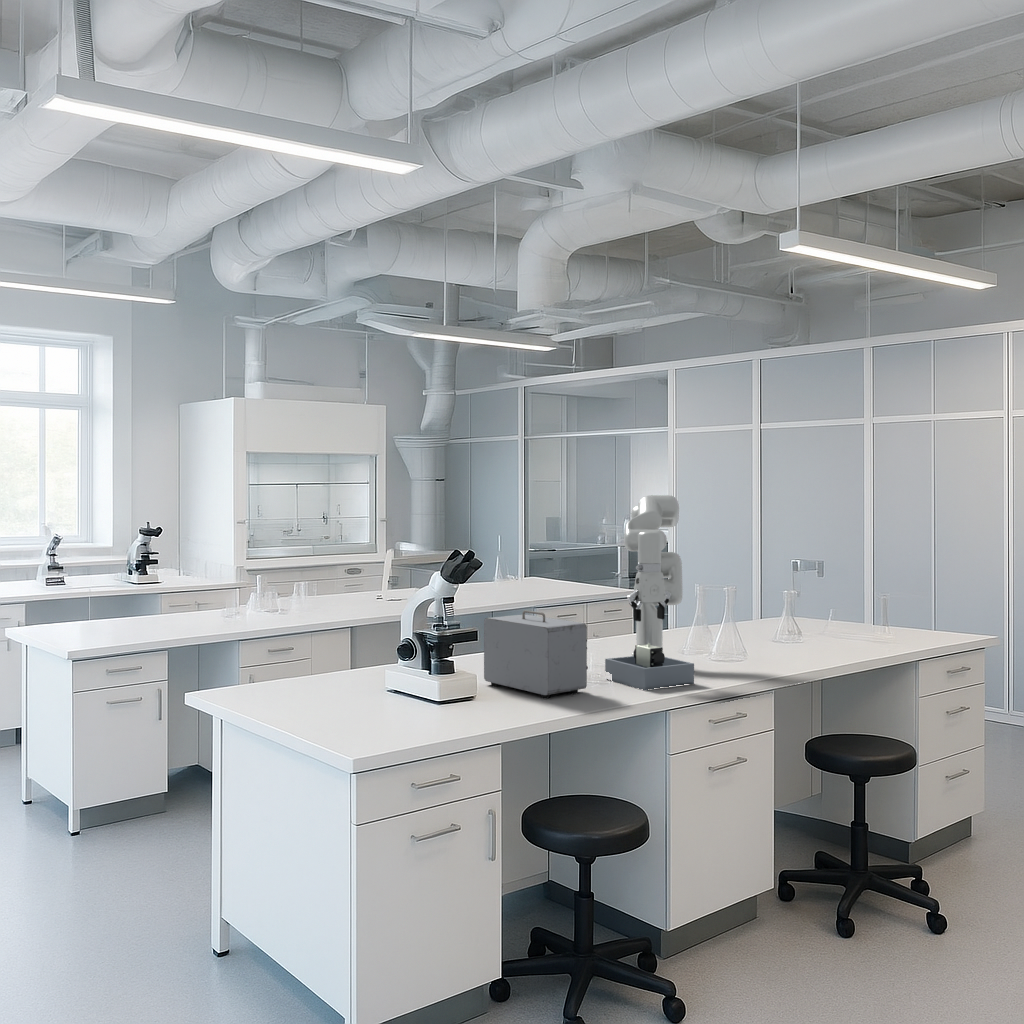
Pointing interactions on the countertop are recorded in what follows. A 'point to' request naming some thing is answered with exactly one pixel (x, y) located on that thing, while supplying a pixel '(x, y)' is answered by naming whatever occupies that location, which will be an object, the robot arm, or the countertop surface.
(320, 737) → the countertop surface
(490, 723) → the countertop surface
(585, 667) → the vintage electronic device
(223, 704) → the countertop surface
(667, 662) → the parts bin
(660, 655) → the pneumatic valve
